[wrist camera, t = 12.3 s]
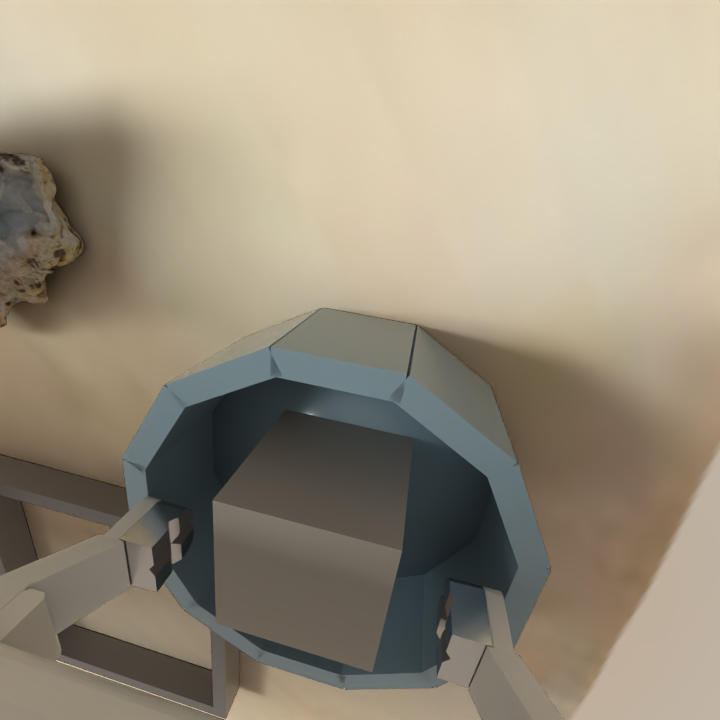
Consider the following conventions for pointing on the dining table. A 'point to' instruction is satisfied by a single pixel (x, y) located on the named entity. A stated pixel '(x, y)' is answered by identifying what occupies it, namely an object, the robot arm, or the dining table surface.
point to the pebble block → (313, 537)
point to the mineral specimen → (30, 231)
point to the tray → (87, 648)
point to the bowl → (367, 409)
